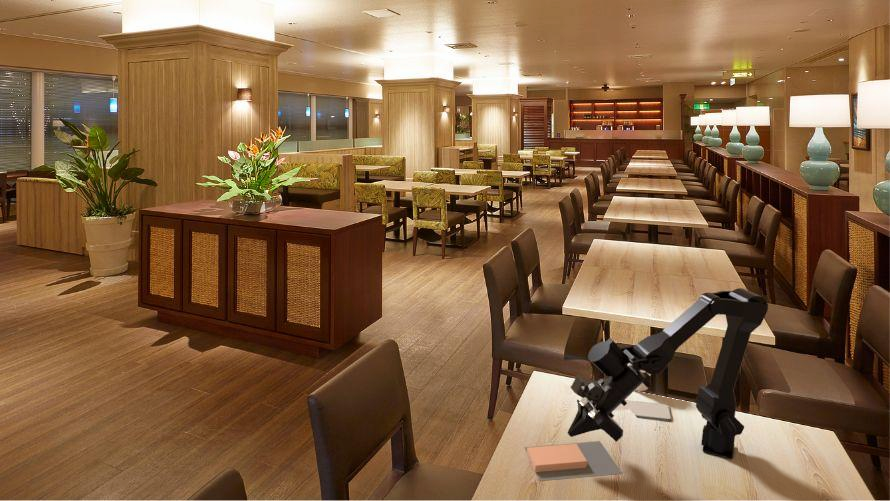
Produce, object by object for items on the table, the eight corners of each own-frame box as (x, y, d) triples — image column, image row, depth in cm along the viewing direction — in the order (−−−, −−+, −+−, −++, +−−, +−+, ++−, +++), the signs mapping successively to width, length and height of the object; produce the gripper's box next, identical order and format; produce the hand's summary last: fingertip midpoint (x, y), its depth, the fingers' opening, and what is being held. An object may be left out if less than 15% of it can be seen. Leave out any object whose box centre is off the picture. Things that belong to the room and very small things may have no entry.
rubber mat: (599, 442, 138) (599, 441, 138) (622, 475, 125) (622, 473, 125) (524, 449, 135) (524, 447, 135) (539, 482, 123) (539, 480, 123)
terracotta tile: (576, 443, 133) (527, 447, 132) (587, 461, 127) (535, 465, 125) (575, 450, 134) (526, 454, 132) (586, 468, 127) (535, 472, 126)
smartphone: (612, 398, 159) (668, 404, 154) (611, 401, 159) (668, 407, 155) (612, 413, 151) (671, 419, 147) (612, 416, 151) (671, 422, 147)
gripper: (580, 349, 134) (534, 394, 136) (612, 385, 116) (558, 436, 117) (609, 377, 137) (564, 421, 138) (645, 416, 119) (593, 466, 120)
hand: (569, 434), depth 128 cm, fingers closed
